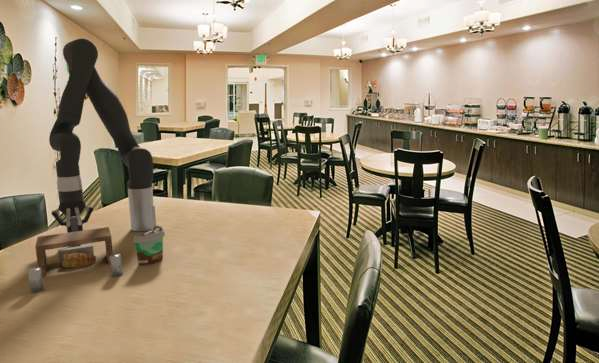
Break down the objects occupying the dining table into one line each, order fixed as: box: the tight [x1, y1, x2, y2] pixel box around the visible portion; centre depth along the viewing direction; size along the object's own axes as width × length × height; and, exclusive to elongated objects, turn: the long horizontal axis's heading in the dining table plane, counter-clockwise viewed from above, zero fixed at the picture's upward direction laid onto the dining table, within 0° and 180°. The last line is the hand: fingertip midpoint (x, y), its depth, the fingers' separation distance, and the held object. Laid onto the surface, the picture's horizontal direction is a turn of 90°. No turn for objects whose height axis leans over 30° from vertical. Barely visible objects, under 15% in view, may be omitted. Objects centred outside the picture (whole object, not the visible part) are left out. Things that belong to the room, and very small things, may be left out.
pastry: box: [61, 252, 97, 269], centre depth 127 cm, size 9×7×4 cm
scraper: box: [57, 216, 95, 263], centre depth 137 cm, size 10×18×9 cm, turn 29°
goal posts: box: [27, 253, 123, 293], centre depth 113 cm, size 23×3×6 cm, turn 119°
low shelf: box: [34, 226, 114, 278], centre depth 125 cm, size 20×10×10 cm, turn 119°
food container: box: [133, 224, 166, 266], centre depth 129 cm, size 12×6×10 cm, turn 168°
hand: (75, 235), depth 144 cm, fingers closed on scraper
